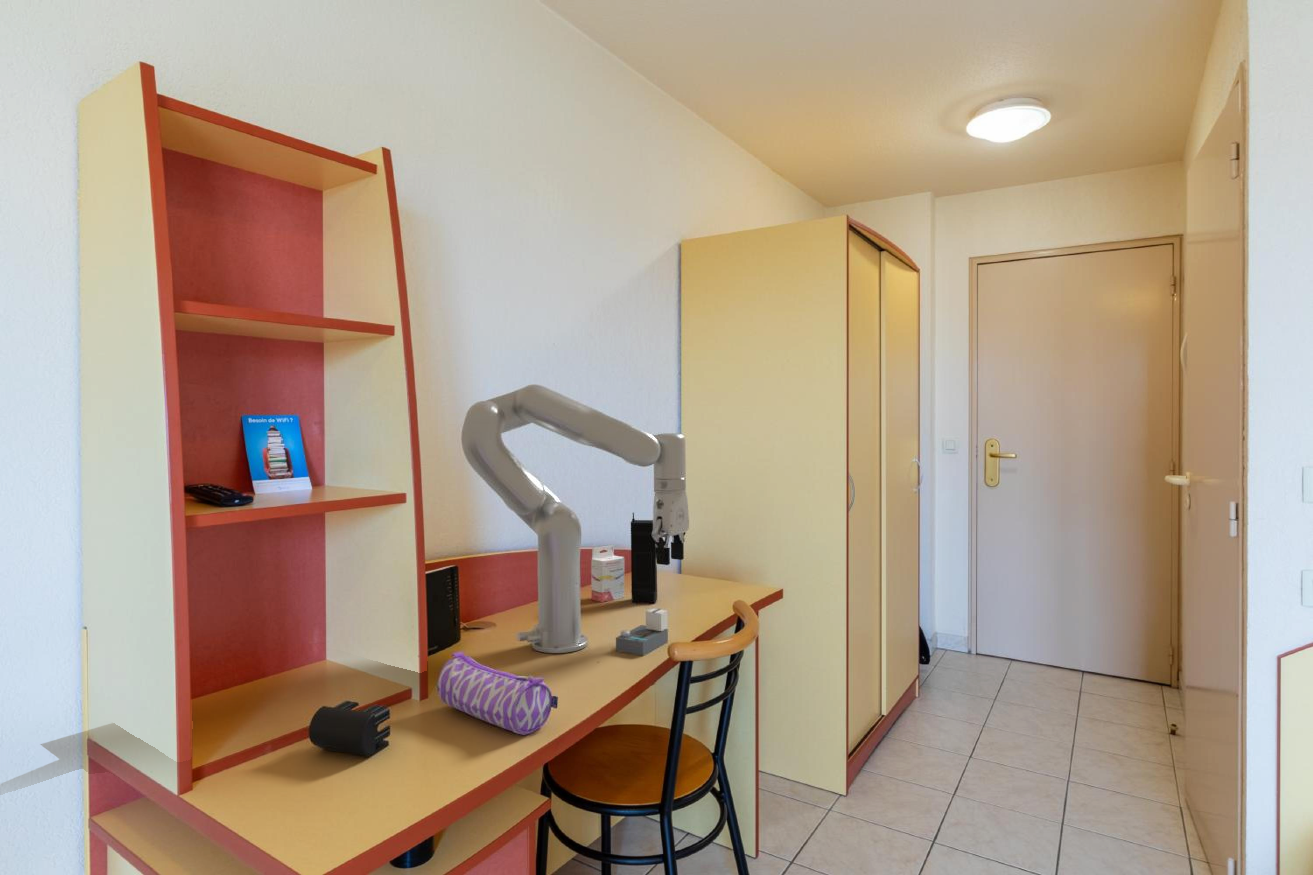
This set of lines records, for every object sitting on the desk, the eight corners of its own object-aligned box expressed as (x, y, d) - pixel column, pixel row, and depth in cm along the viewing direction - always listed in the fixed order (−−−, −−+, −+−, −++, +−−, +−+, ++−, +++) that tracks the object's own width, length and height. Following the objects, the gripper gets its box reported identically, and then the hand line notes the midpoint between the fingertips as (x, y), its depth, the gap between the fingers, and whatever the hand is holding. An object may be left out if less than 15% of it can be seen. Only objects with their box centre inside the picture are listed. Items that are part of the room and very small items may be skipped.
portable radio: (661, 598, 206) (660, 511, 205) (659, 604, 200) (658, 513, 199) (633, 598, 206) (632, 510, 206) (630, 603, 200) (629, 513, 200)
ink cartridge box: (602, 603, 201) (601, 550, 201) (591, 599, 205) (590, 548, 205) (625, 597, 207) (624, 546, 207) (614, 594, 211) (613, 544, 211)
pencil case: (559, 724, 122) (559, 669, 122) (519, 745, 114) (518, 686, 114) (471, 696, 135) (470, 646, 134) (430, 713, 127) (429, 660, 127)
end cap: (308, 756, 111) (307, 713, 111) (341, 737, 118) (340, 696, 118) (361, 765, 108) (360, 721, 108) (392, 745, 115) (392, 703, 115)
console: (643, 655, 156) (643, 637, 156) (616, 650, 160) (615, 633, 160) (667, 641, 166) (667, 624, 166) (641, 637, 169) (641, 620, 169)
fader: (661, 631, 163) (660, 612, 163) (645, 628, 165) (645, 610, 165) (667, 627, 166) (667, 609, 166) (652, 625, 168) (652, 607, 168)
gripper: (665, 489, 161) (666, 570, 162) (700, 483, 176) (700, 556, 177) (637, 488, 165) (637, 566, 165) (673, 482, 180) (673, 554, 180)
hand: (670, 560), depth 171 cm, fingers open, 6 cm apart
